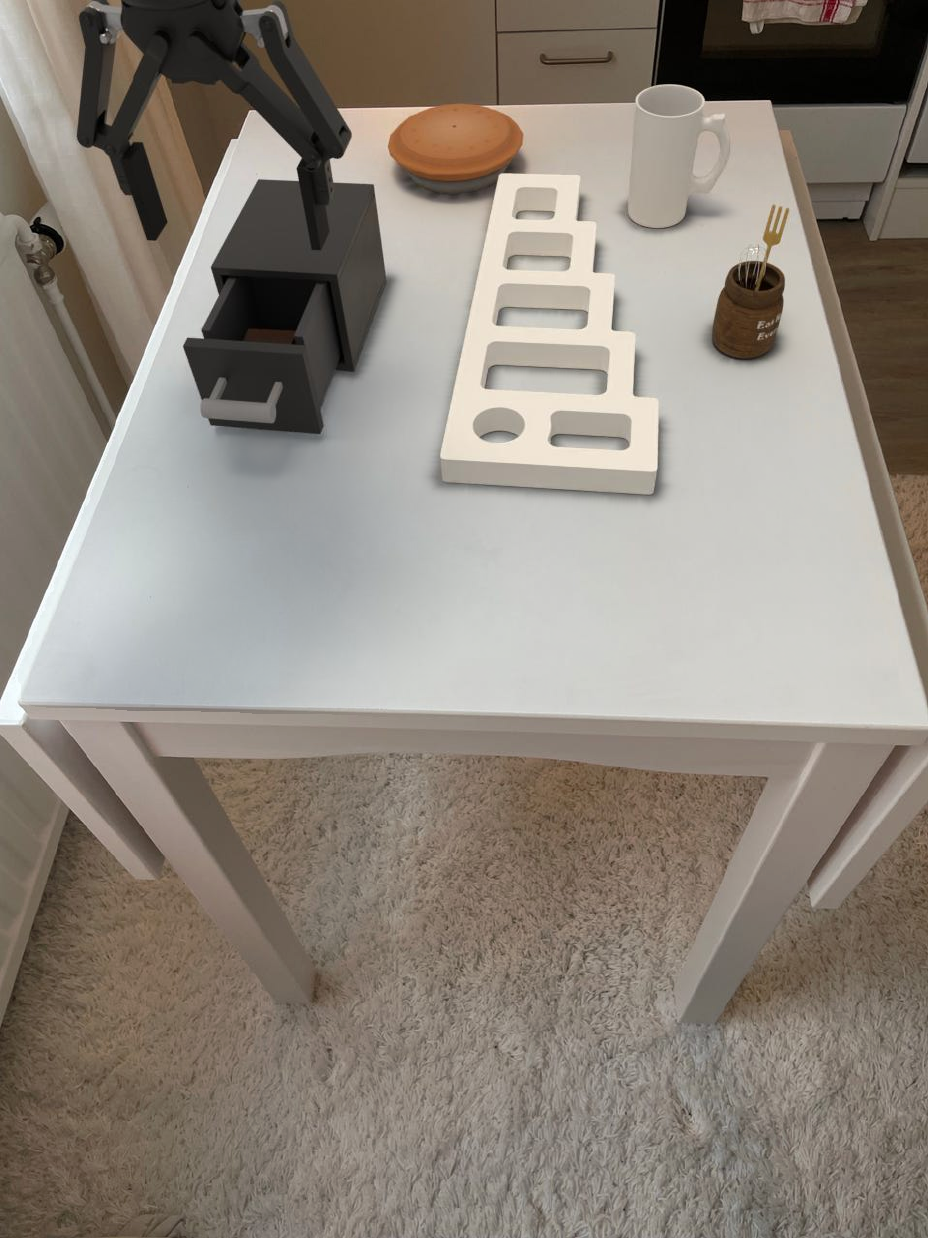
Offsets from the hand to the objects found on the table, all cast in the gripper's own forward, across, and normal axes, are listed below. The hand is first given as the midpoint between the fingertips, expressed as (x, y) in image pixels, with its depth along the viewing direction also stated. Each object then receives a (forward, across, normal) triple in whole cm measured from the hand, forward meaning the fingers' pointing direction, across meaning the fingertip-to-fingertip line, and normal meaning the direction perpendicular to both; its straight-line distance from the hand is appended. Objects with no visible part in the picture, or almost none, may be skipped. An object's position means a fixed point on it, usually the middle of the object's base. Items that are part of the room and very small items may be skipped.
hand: (238, 236), depth 76 cm
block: (+15, 0, 0) cm, 15 cm away
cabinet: (+17, 0, -12) cm, 21 cm away
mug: (+16, -35, -34) cm, 52 cm away
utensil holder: (+17, -42, -13) cm, 47 cm away
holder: (+17, -25, -14) cm, 33 cm away
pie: (+16, -10, -42) cm, 46 cm away
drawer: (+16, 0, 0) cm, 16 cm away
